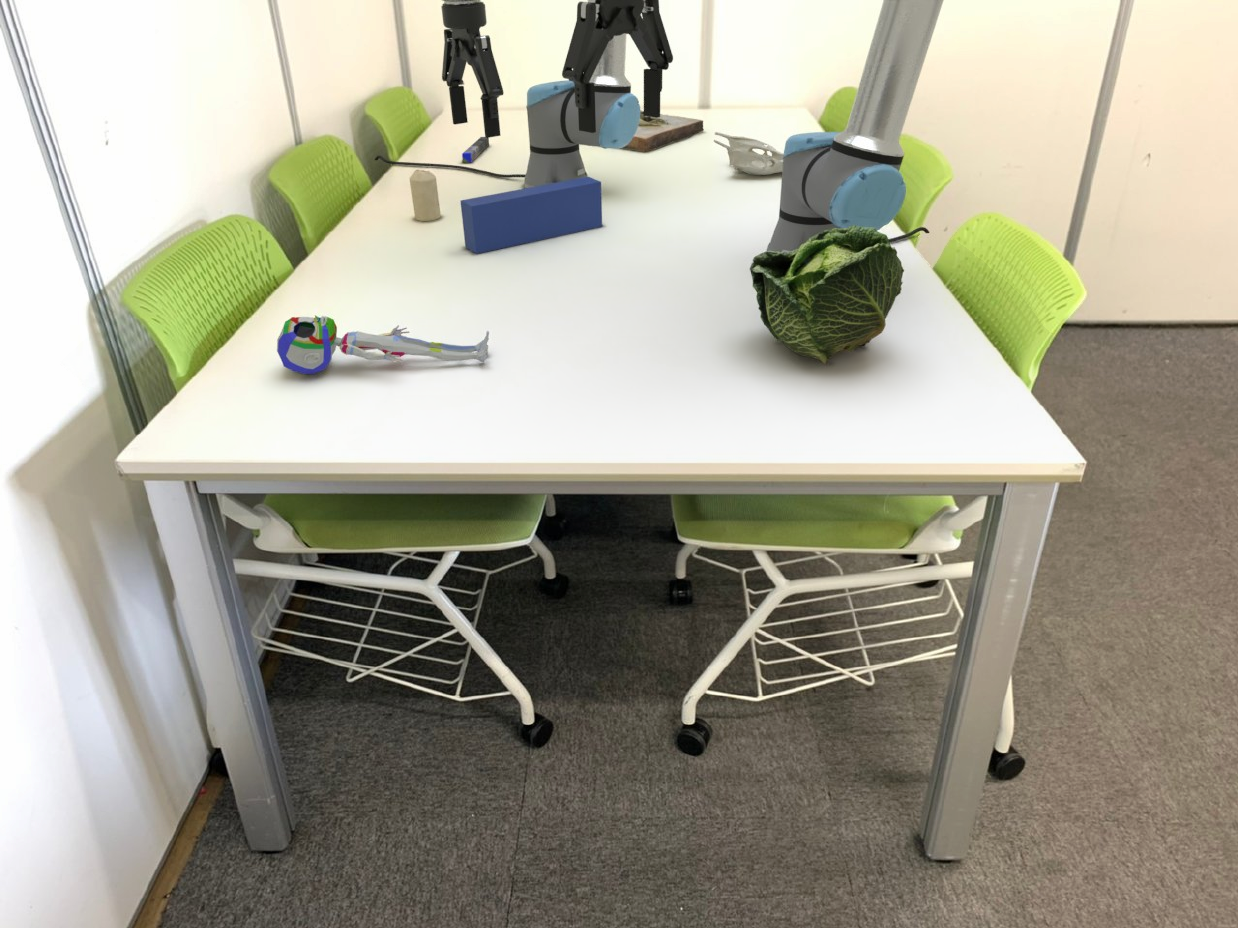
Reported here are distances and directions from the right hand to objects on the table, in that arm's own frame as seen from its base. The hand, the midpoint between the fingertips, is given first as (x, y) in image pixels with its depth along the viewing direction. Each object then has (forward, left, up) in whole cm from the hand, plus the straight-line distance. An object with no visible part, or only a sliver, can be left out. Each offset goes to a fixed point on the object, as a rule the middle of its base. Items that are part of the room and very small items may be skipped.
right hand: (620, 124), depth 132 cm
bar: (-4, -45, -30) cm, 54 cm away
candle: (+12, -68, -30) cm, 76 cm away
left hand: (+7, -44, -8) cm, 45 cm away
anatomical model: (-72, -62, -30) cm, 100 cm away
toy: (+39, -1, -30) cm, 49 cm away
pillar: (-17, -118, -30) cm, 123 cm away
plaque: (-64, -115, -30) cm, 135 cm away
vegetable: (-20, +26, -30) cm, 45 cm away
